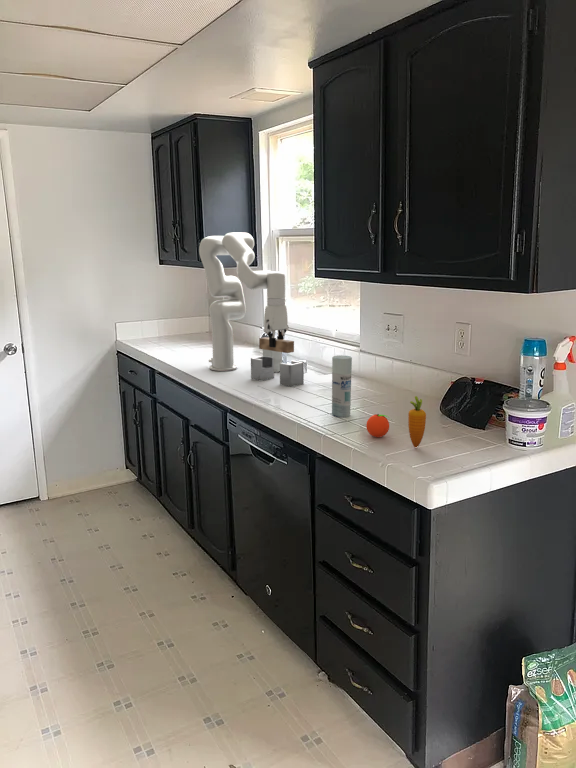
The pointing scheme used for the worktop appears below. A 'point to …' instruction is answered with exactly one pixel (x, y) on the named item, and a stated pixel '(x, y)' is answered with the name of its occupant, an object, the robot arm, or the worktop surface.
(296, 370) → the brackets
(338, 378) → the spray paint can
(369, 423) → the clementine
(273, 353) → the skincare box
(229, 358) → the robot arm
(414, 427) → the carrot
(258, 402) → the worktop surface
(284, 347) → the walnut rail
